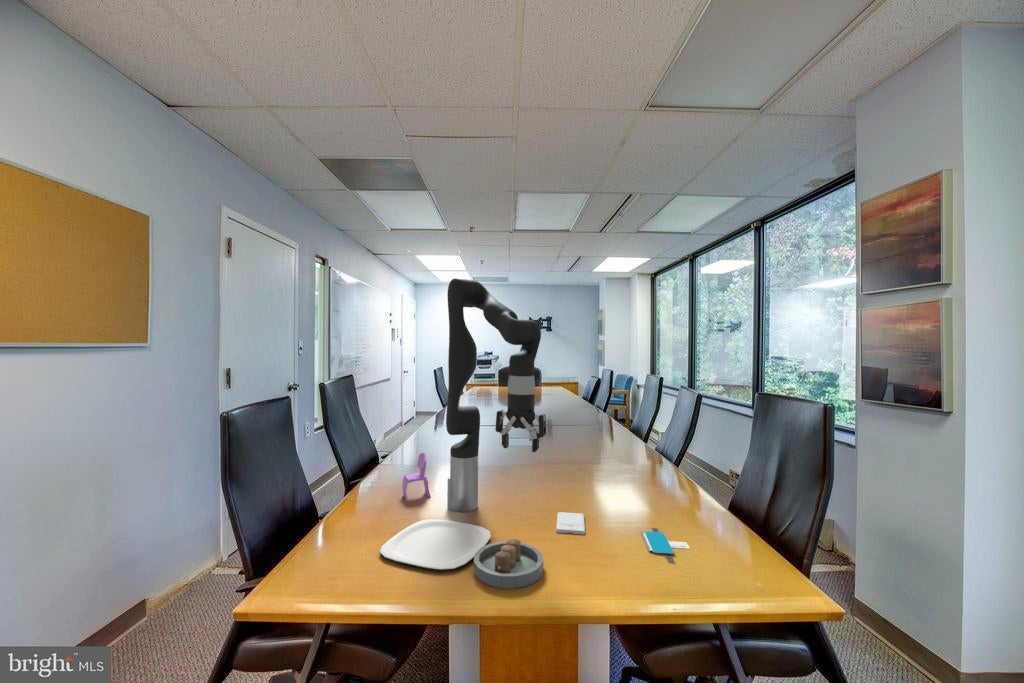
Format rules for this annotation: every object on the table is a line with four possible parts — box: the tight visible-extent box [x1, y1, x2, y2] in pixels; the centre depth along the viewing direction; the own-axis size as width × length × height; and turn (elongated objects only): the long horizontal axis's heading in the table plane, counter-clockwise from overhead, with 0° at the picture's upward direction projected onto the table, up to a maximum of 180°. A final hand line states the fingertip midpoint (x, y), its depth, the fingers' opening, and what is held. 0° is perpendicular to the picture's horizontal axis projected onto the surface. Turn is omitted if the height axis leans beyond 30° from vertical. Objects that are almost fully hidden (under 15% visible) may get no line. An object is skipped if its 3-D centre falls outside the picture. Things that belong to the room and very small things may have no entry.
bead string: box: [495, 538, 522, 573], centre depth 100 cm, size 4×11×4 cm, turn 159°
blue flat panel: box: [640, 527, 691, 564], centre depth 113 cm, size 20×12×2 cm, turn 173°
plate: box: [379, 518, 492, 571], centre depth 111 cm, size 25×25×2 cm
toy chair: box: [401, 452, 432, 502], centre depth 147 cm, size 8×9×15 cm
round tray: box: [473, 540, 544, 590], centre depth 100 cm, size 16×16×3 cm
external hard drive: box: [555, 511, 586, 535], centre depth 125 cm, size 2×8×12 cm
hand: (520, 449), depth 116 cm, fingers open, 8 cm apart
